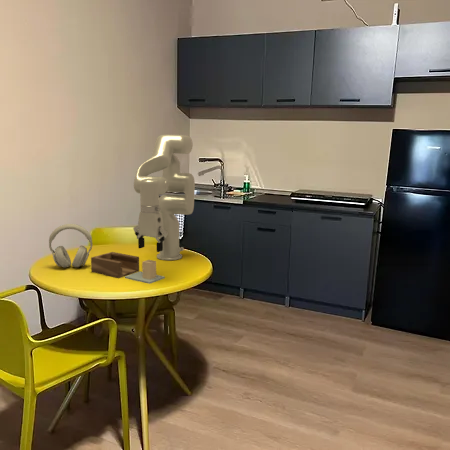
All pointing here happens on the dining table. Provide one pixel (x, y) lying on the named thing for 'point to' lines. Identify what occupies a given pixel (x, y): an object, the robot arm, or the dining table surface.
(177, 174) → the robot arm
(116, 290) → the dining table surface
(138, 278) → the cover plate
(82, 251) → the headphones
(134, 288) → the dining table surface
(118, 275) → the walnut box
